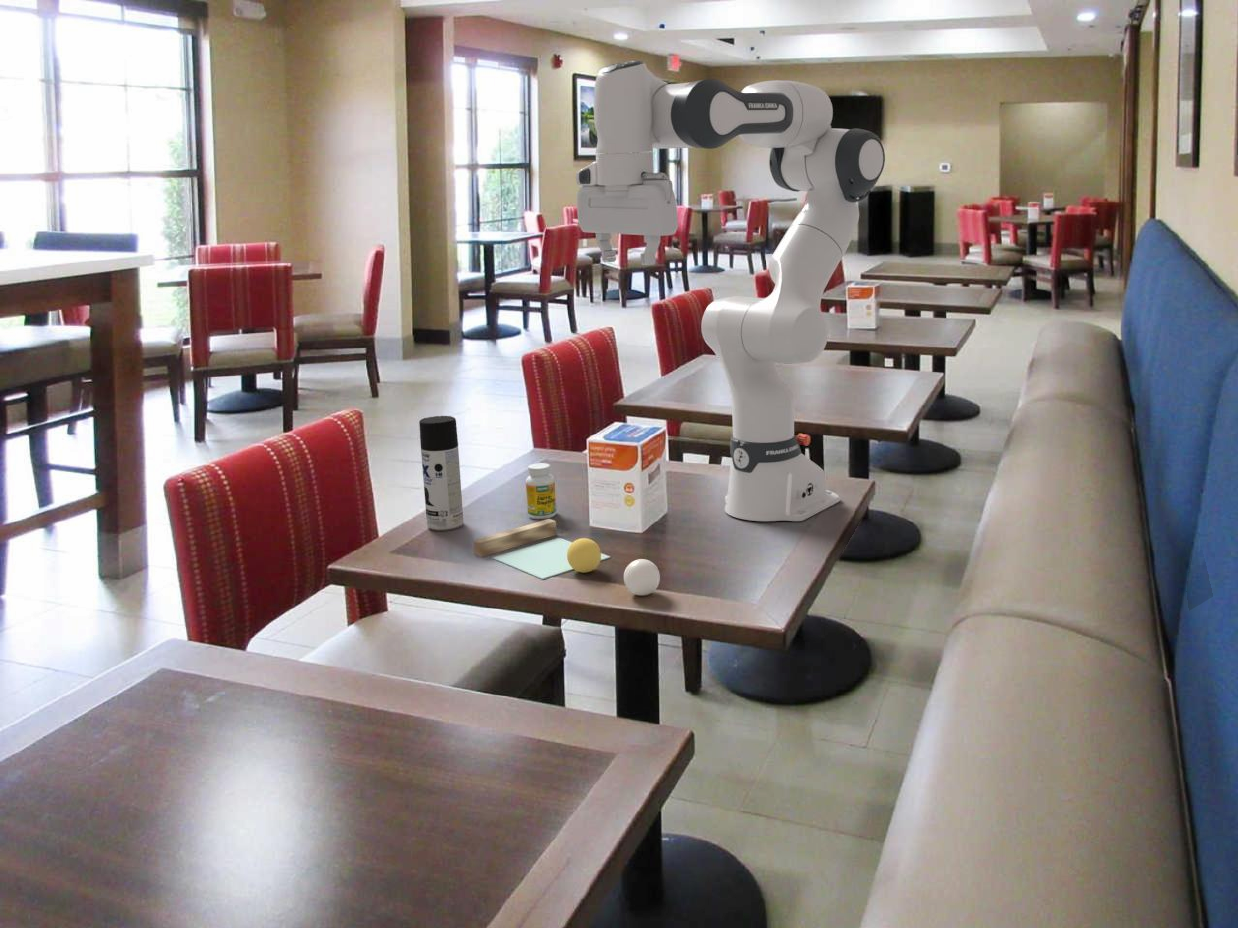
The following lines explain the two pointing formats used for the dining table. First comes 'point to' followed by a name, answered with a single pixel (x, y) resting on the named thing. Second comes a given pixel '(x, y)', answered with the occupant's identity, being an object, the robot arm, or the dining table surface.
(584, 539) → the ball
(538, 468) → the supplement bottle
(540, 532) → the rail
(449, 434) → the spray can
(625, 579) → the ball
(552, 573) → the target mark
